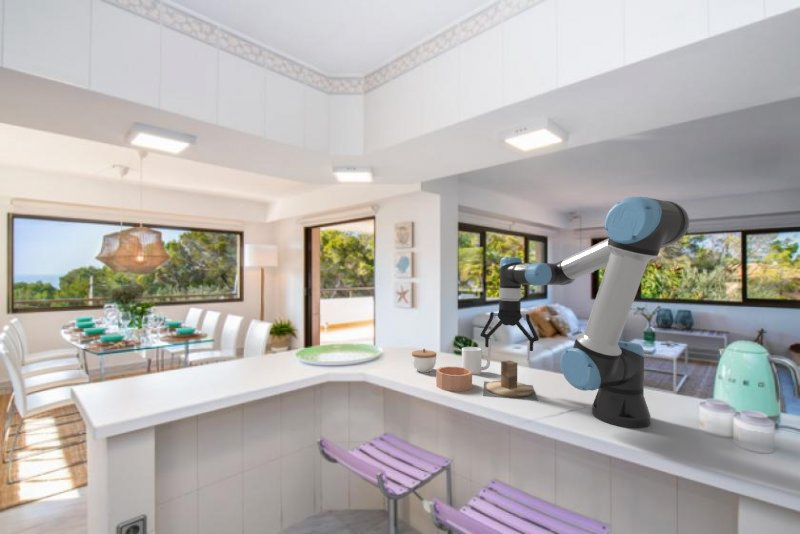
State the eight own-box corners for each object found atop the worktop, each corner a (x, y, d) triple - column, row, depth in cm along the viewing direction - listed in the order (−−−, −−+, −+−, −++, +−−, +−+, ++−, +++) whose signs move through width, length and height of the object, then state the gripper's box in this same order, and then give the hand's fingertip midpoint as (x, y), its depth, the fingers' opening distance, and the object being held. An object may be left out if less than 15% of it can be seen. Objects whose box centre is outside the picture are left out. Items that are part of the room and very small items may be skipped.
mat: (532, 386, 143) (532, 385, 143) (538, 402, 125) (538, 400, 125) (483, 382, 147) (483, 381, 147) (482, 397, 130) (483, 395, 130)
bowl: (478, 389, 138) (478, 373, 138) (449, 394, 132) (449, 377, 132) (457, 380, 150) (457, 365, 150) (429, 384, 144) (430, 368, 144)
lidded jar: (406, 370, 164) (406, 348, 165) (423, 366, 172) (423, 345, 172) (424, 375, 156) (424, 352, 157) (441, 370, 164) (441, 349, 164)
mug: (490, 372, 163) (491, 348, 163) (489, 377, 155) (489, 352, 155) (463, 369, 167) (463, 346, 167) (460, 374, 159) (460, 349, 159)
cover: (542, 393, 133) (542, 364, 133) (508, 400, 126) (508, 369, 126) (509, 381, 147) (510, 355, 147) (477, 386, 140) (477, 359, 140)
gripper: (545, 300, 137) (544, 358, 137) (476, 297, 144) (474, 352, 144) (547, 302, 129) (545, 363, 129) (473, 298, 137) (472, 357, 137)
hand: (508, 358), depth 137 cm, fingers open, 13 cm apart
